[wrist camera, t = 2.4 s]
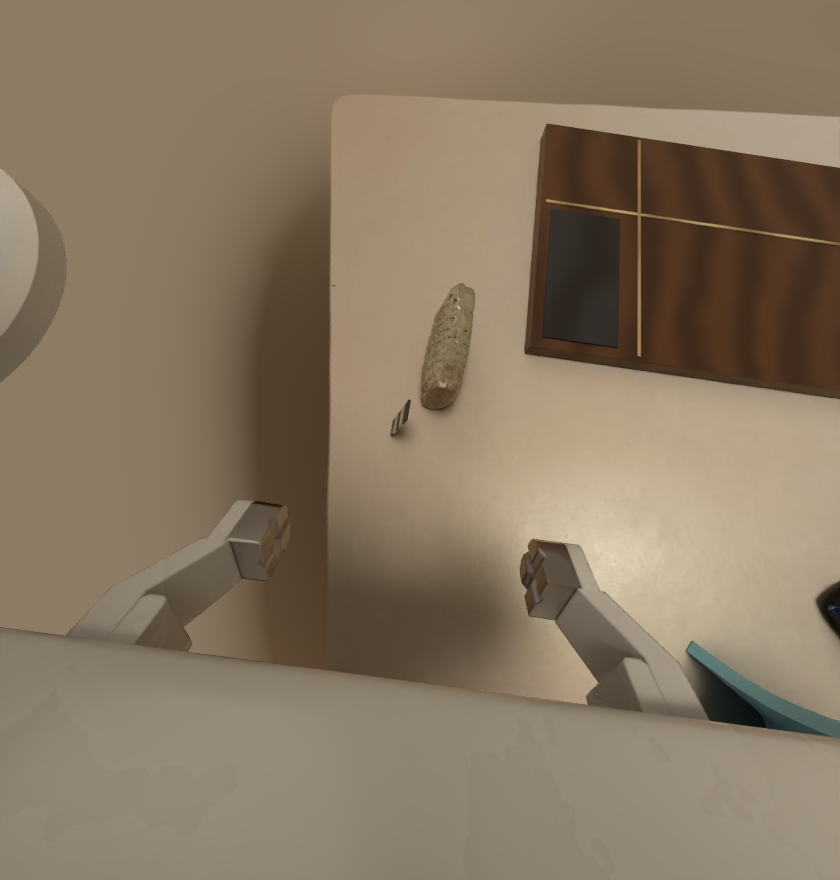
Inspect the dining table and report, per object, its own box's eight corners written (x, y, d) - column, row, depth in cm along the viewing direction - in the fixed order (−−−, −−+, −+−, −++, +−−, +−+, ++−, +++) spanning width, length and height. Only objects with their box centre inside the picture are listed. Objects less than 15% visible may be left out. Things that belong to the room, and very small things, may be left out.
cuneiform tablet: (390, 436, 29) (411, 314, 31) (438, 445, 29) (455, 327, 32) (405, 419, 22) (431, 265, 24) (467, 432, 23) (486, 282, 25)
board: (524, 353, 31) (531, 344, 29) (540, 138, 36) (547, 120, 34) (951, 414, 31) (982, 409, 29) (908, 194, 36) (932, 179, 35)
